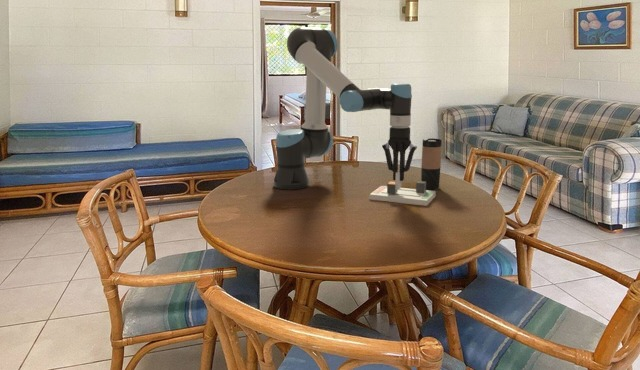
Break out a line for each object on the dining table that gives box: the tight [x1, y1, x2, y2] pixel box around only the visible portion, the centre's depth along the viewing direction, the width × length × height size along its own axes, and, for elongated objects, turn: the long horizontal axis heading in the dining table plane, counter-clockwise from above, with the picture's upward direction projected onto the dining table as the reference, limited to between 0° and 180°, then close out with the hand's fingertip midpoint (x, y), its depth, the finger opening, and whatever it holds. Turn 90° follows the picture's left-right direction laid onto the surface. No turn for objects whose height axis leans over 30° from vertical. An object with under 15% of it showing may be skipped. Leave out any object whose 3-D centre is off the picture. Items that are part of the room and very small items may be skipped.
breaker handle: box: [386, 180, 398, 194], centre depth 185 cm, size 3×4×4 cm
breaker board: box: [369, 180, 437, 207], centre depth 187 cm, size 22×14×6 cm, turn 64°
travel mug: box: [420, 137, 442, 191], centre depth 199 cm, size 8×8×20 cm
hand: (398, 188), depth 184 cm, fingers closed
